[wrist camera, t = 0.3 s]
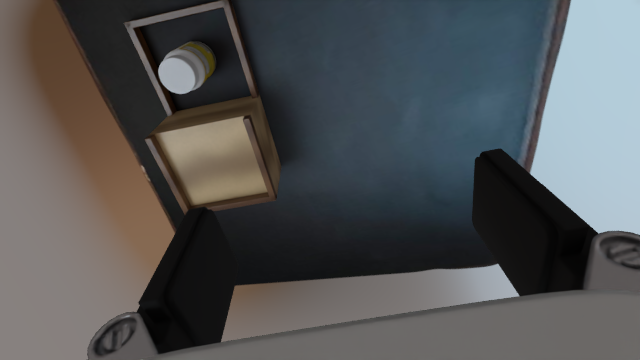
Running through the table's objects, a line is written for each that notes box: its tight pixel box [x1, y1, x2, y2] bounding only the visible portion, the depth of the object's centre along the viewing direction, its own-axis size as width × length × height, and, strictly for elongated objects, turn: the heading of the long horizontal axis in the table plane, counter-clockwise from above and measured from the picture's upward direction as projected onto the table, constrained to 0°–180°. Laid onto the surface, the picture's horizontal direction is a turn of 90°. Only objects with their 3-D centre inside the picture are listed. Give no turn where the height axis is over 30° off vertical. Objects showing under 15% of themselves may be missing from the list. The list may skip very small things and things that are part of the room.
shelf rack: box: [124, 0, 281, 215], centre depth 42 cm, size 24×13×9 cm, turn 11°
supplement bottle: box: [158, 41, 216, 94], centre depth 39 cm, size 5×5×8 cm
